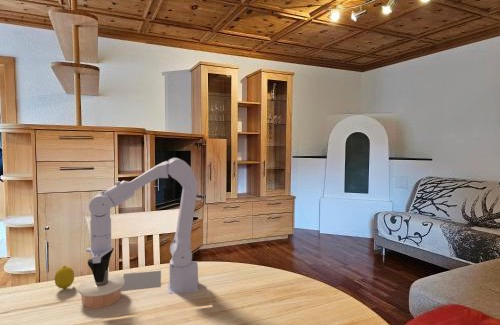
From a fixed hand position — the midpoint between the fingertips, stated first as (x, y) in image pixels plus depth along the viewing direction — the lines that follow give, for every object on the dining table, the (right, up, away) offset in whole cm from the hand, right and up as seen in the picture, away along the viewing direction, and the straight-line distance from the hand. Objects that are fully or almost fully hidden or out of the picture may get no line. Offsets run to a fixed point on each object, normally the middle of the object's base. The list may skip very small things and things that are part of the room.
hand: (101, 276), depth 96 cm
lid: (0, -3, 0) cm, 3 cm away
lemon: (-15, -7, +7) cm, 18 cm away
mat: (+8, -7, +13) cm, 17 cm away
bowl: (0, -7, +1) cm, 7 cm away
